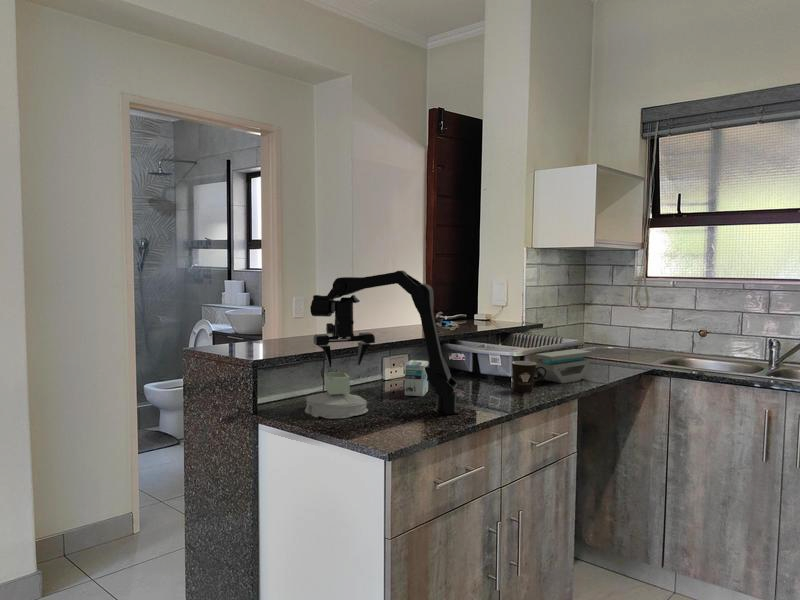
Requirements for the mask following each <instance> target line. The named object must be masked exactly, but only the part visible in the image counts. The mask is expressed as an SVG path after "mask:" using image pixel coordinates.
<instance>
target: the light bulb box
mask: <svg viewBox="0 0 800 600" xmlns="http://www.w3.org/2000/svg"><path fill="white" fill-rule="evenodd" d="M428 364H429V361H428V360H417V359H410V360H409V361H408V362H407V363H405V364H404V372H405V373H404V396H411V397H412V396H414V397H424V396H425V395H426V393H427V392H428V391H429V380H428V381H427V374H426V371H425V367H426V366H427V365H428Z"/></svg>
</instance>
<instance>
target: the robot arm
mask: <svg viewBox="0 0 800 600" xmlns="http://www.w3.org/2000/svg"><path fill="white" fill-rule="evenodd" d="M396 284H397V285H399V286H400V287H401V288H402V289H403V290H404V291H405V292H406V293H408V294H409V295H410V297H411V299H412V302H413V304H414V306H415V308H416V311H417V312H418V314H419V317H420V321H421V326H422V331H423V335H424V341H425V345H426V349H427V350H426V351H427V355H428V360H429V361H428V365H427V366H426V367H425V371H426V374H427V381H428V383H429V385H431V386H432V387H433V388H434V391H435V394H436V407H433V408H432V411H433V412H435V413H436V414H438V415H440V416H444V415H459V414H460V411H459V410H456V390H457V387H458V384H459V383H457V381H456V380H455V379H454V378H453V377H452V374H451V371H450V369H449V366H448V364H447V362H446V360H445V358H444V356H443V352H442V347H441V343H440V339H439V334H438V329H437V323H436V319H435V313H434V306H435V305H434V303H435V300H434V289H433V287H432V286H431V285H430V284H427V283H422V282H420V281H419V280H417V279H416V278H414V277H413V276H411V275H409V274H408V273H407V272H406V271H405V270H396V271H393V272H388V273H387V272H386V273H382V274H375V275H371V276H364V277H362V276H361V277H359V276H358V277H357V276H355V277H354V276H343V277H337V278H335V280H334V281H333V282H332V288H331V289H330V291H329V292H328V293H327V295H321V294H320V295H319V294H314V295H313V296H312V300H311V304H310V314H311V316H313V317H328V318H329V317H332V315H333V314H334V324H333V323H332V322H331V323H326V325H325V327H326V329H325V331H326V334H315V335H314V336H313V344H314V345H315V346H318V347H319V348H320V349H322V351H323V353H324V356H325V358H326V360H327V364H328V367H329V368H331V367H332V352H331V346H330V345H329V343H346V342H347V343H348V342H349V343H350V342H357V347H358V349H357V358H356V359H357V360H356V361H357V363H356V364H357V365H358V366H360V365H361V362H362V360H363V357H364V355H365V353H366V351H367V349H368V348H369V347H371V346H372V344H375V343H376V337H375V335H374V334H373V333H371V332H359V333H358V334H357V335H355V334H354V323H355V322H354V321H355V320H354V304H358V303H360V299H358V298H357V296H356V294H355V293H358V292H360V291H363V290H366V289H370V288H377V287H382V286H389V285H396ZM348 295H351V296H350V297H346V296H348ZM343 296H344V297H343ZM339 298H340V299H339ZM335 299H338V300H335ZM329 335H332V336H329Z"/></svg>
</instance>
